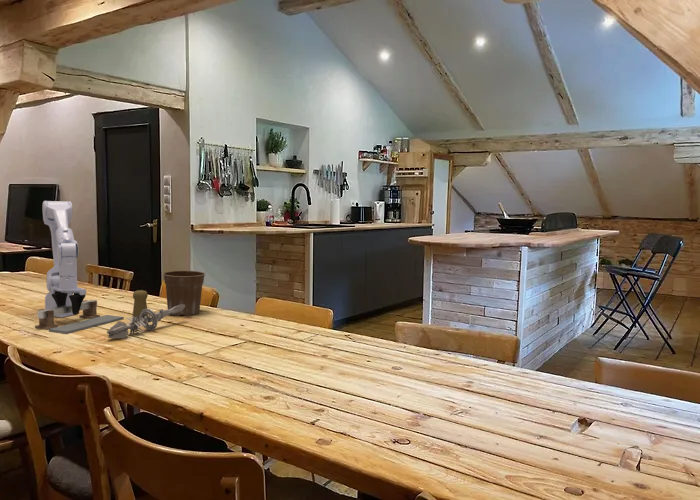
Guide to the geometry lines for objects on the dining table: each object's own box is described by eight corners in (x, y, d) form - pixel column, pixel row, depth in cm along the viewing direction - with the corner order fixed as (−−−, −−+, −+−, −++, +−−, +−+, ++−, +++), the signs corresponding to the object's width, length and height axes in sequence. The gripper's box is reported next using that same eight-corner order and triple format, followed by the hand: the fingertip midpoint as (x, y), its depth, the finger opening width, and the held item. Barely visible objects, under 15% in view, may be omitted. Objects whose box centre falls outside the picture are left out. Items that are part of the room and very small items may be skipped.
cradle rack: (35, 327, 194) (34, 310, 193) (87, 315, 215) (87, 299, 214) (48, 329, 191) (47, 311, 191) (100, 317, 213) (99, 300, 212)
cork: (151, 318, 213) (151, 289, 212) (144, 321, 207) (144, 292, 206) (136, 317, 214) (136, 289, 213) (128, 320, 208) (128, 291, 207)
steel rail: (37, 317, 192) (37, 311, 192) (92, 306, 214) (92, 299, 214) (42, 318, 191) (42, 311, 191) (97, 306, 214) (97, 300, 213)
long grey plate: (48, 331, 189) (48, 329, 189) (107, 316, 214) (107, 314, 214) (66, 333, 187) (66, 331, 186) (123, 319, 211) (123, 316, 211)
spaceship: (195, 301, 207) (179, 292, 209) (118, 330, 176) (101, 318, 179) (190, 319, 209) (174, 310, 212) (114, 351, 179) (96, 339, 181)
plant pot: (213, 311, 228) (213, 272, 226) (186, 319, 213) (186, 277, 212) (182, 307, 235) (182, 269, 233) (153, 314, 220) (153, 273, 219)
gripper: (43, 275, 200) (44, 313, 202) (74, 278, 195) (75, 317, 197) (60, 273, 207) (60, 309, 208) (90, 276, 202) (91, 313, 203)
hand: (68, 313), depth 203 cm, fingers open, 6 cm apart
